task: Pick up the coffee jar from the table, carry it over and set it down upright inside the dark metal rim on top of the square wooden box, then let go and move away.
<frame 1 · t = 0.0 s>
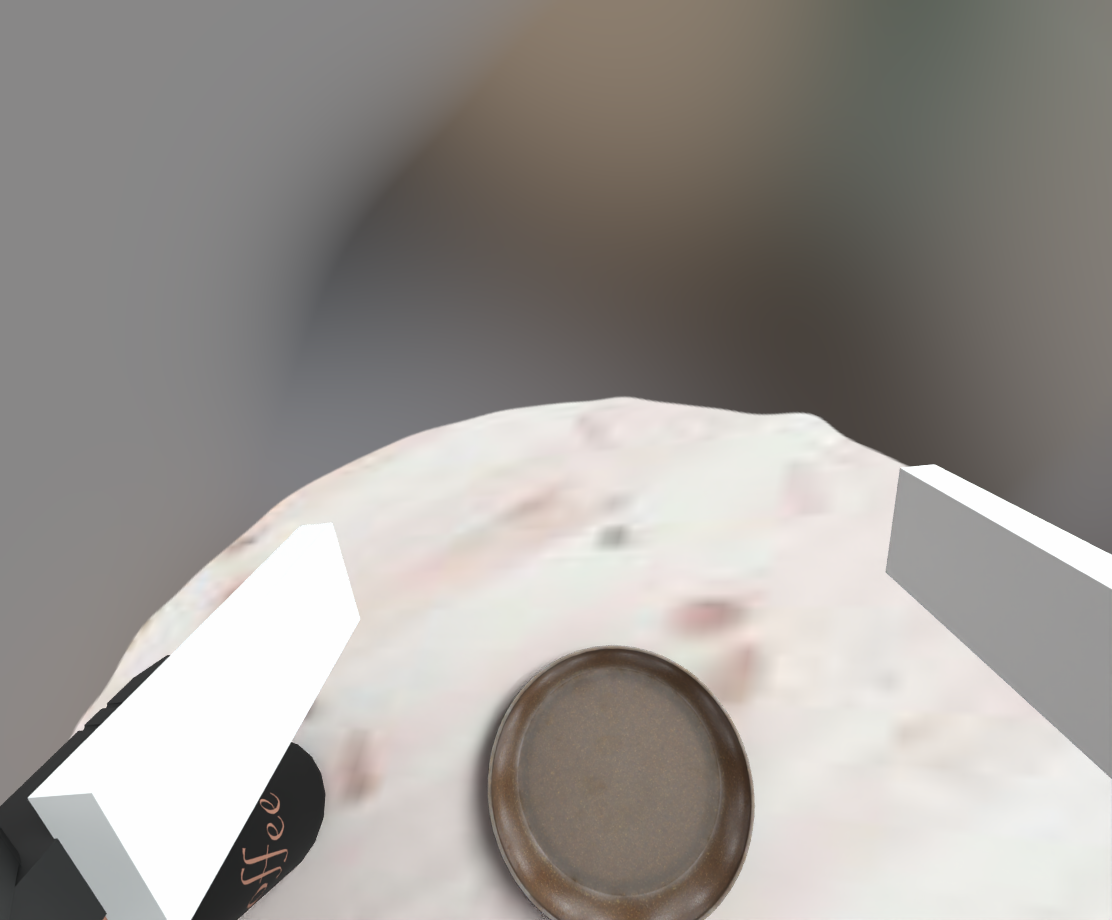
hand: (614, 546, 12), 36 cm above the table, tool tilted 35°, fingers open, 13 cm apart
coffee jar: (272, 801, 44), on the table
plant saucer: (615, 772, 43), on the table
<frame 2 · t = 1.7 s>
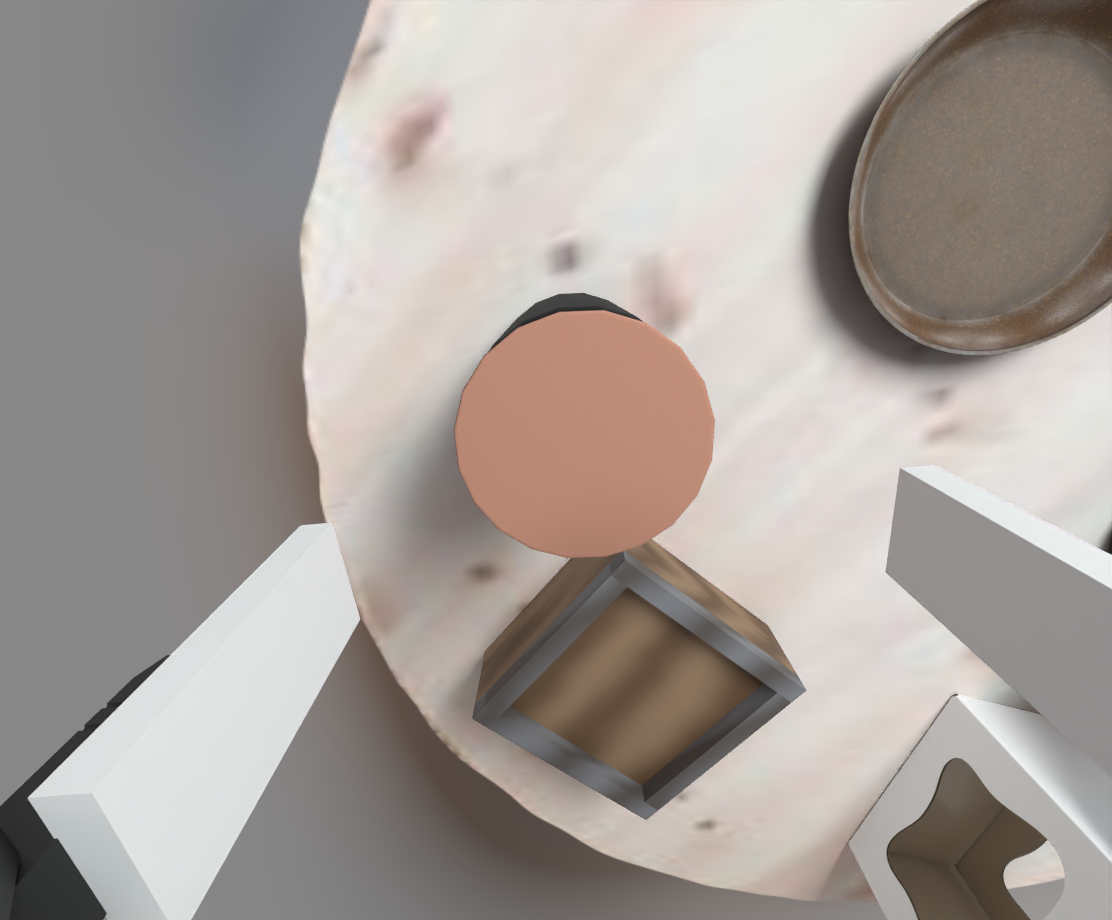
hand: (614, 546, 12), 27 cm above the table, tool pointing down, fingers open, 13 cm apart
coffee jar: (572, 367, 38), on the table
plant saucer: (983, 190, 34), on the table
gable box: (952, 783, 52), on the table, touching arm
square wooden box: (624, 638, 46), on the table
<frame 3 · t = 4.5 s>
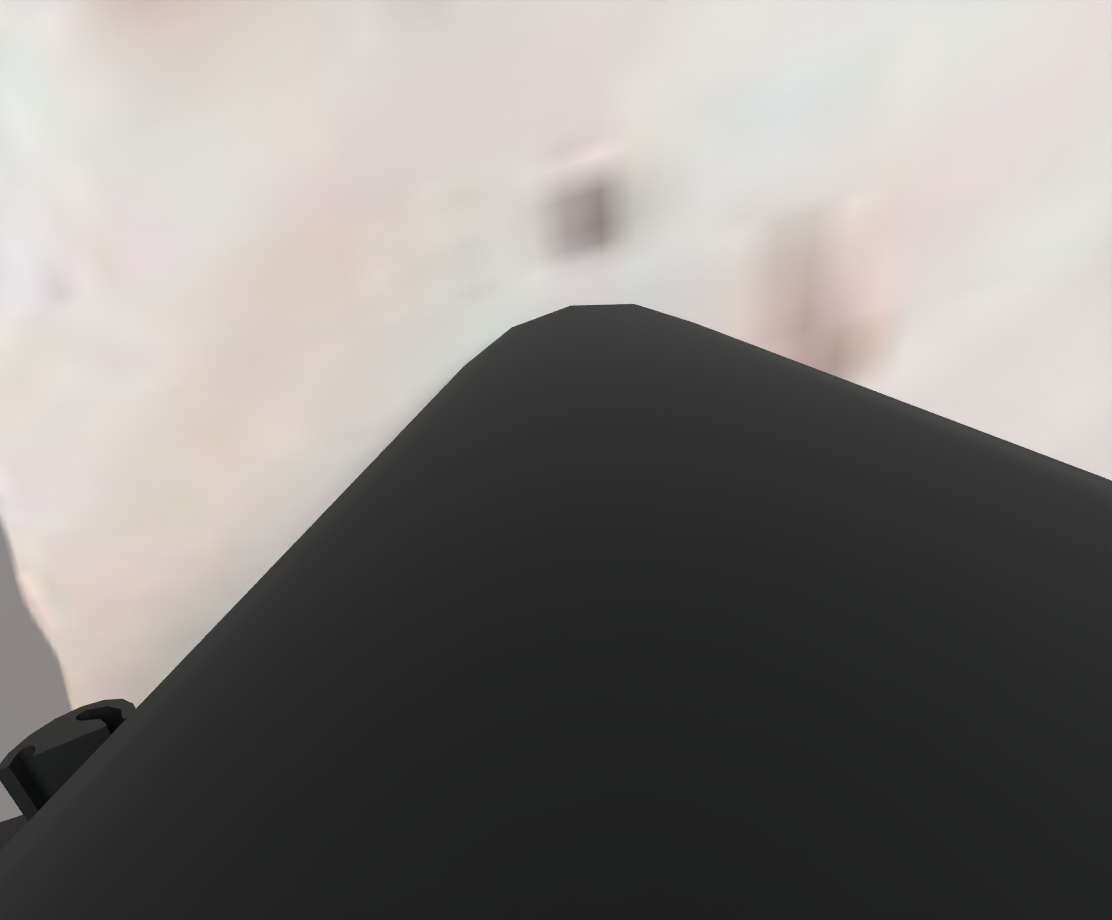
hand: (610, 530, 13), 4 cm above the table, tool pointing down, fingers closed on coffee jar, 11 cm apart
coffee jar: (597, 470, 17), on the table, touching gripper
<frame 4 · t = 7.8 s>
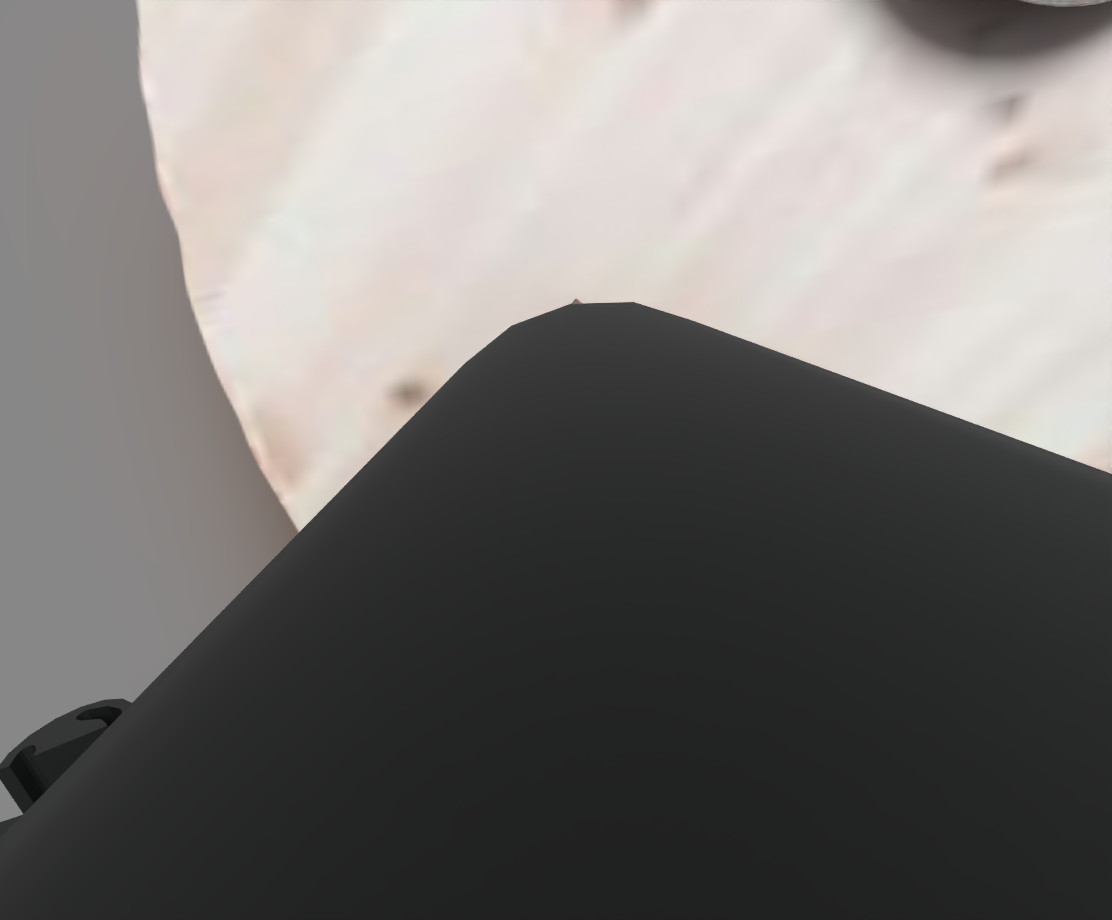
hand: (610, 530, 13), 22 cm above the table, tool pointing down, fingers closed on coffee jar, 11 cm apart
coffee jar: (597, 468, 17), point 18 cm above the table, touching gripper
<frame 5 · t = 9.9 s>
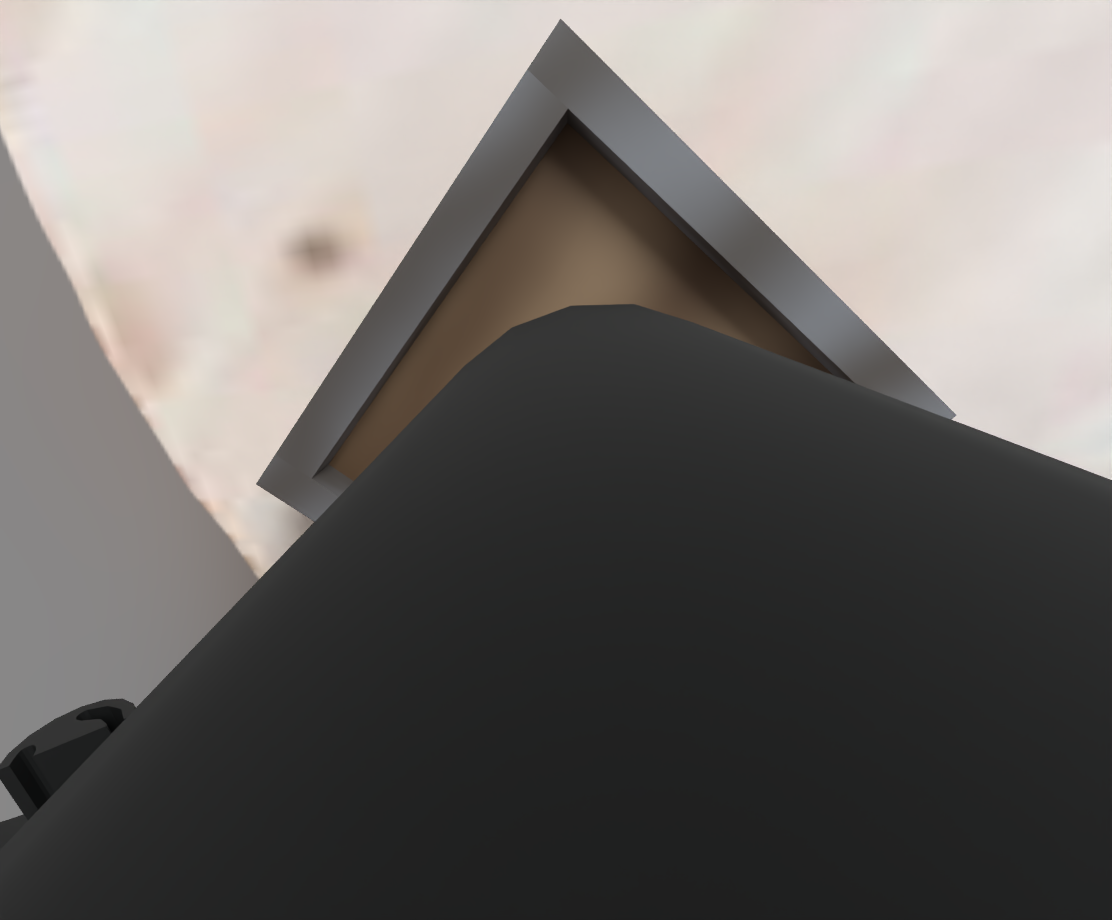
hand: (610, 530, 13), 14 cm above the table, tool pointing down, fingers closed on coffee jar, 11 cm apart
coffee jar: (597, 470, 17), point 9 cm above the table, touching gripper
square wooden box: (585, 401, 26), on the table
when the fingers open (11 cm above the table, at t = 11.4 s): coffee jar drops 1 cm, resting on square wooden box.
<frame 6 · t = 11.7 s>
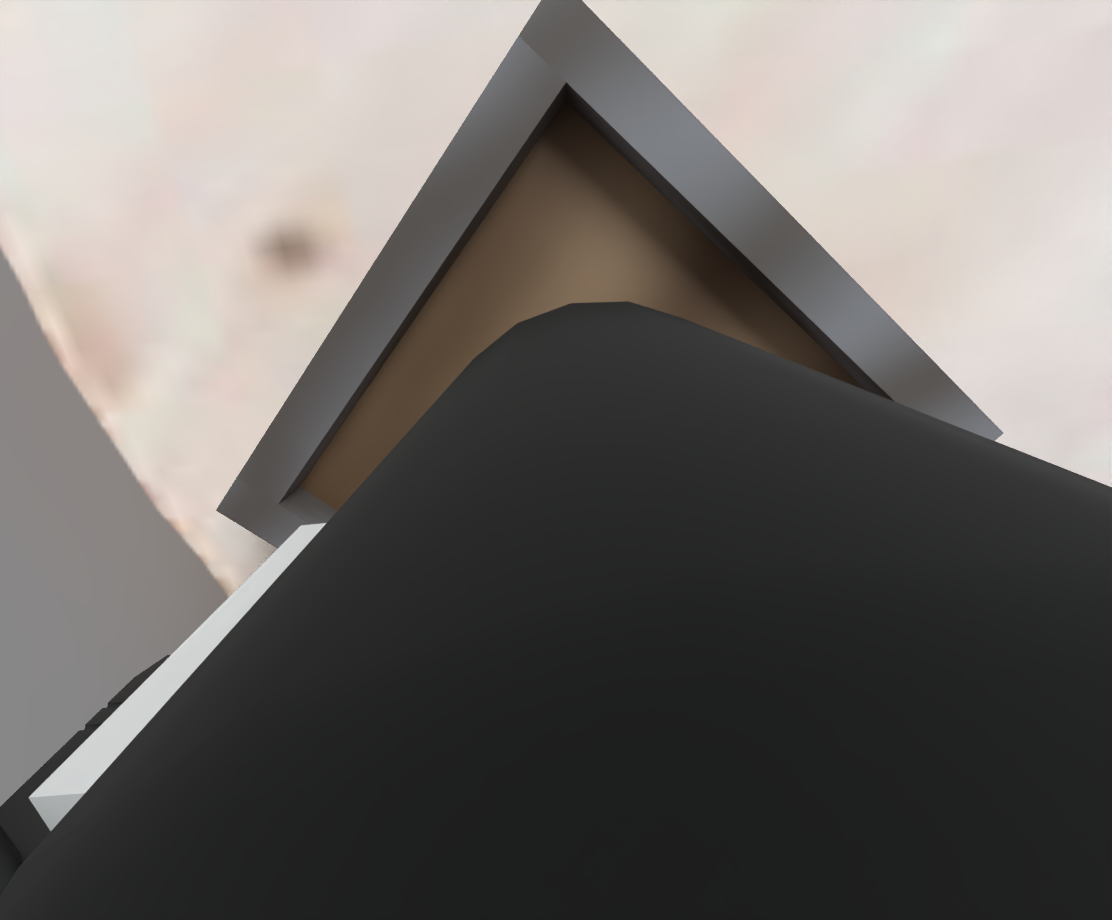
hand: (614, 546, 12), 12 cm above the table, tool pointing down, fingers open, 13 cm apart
coffee jar: (596, 455, 18), point 6 cm above the table, touching square wooden box
square wooden box: (585, 412, 23), on the table
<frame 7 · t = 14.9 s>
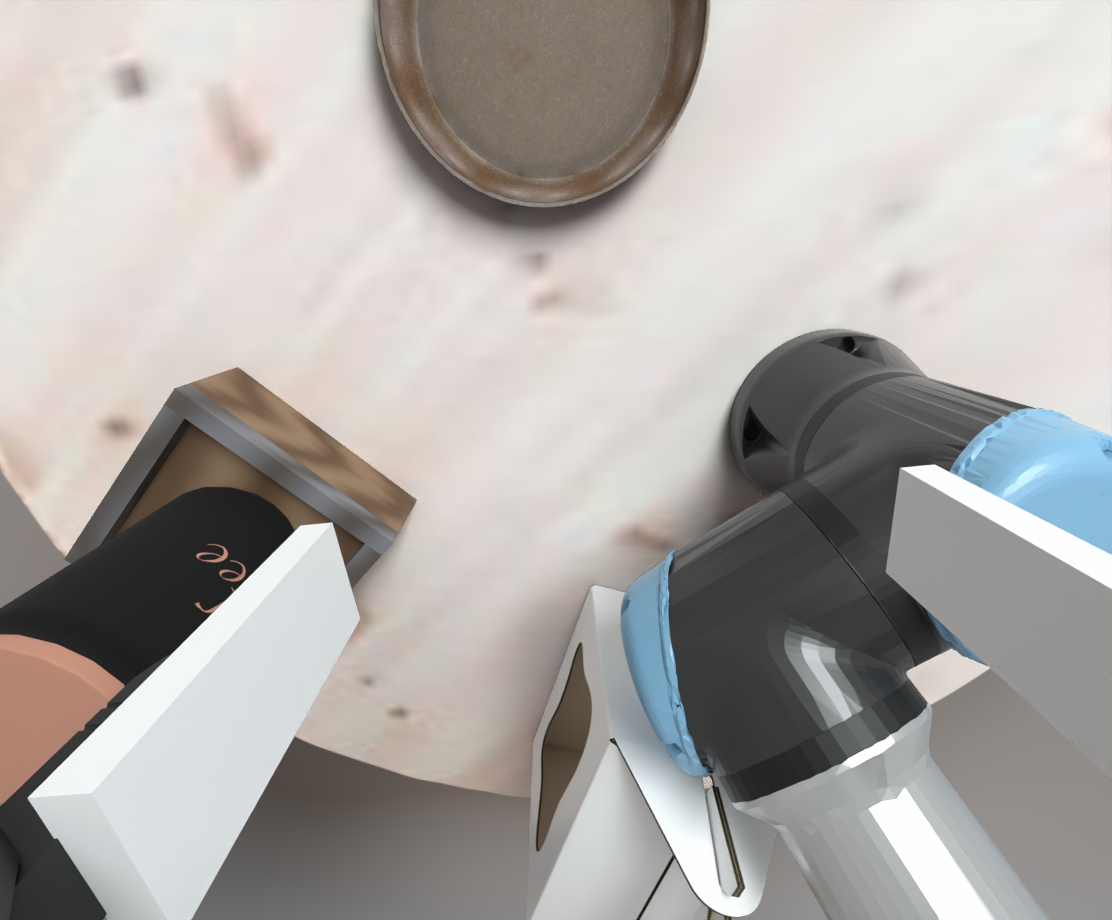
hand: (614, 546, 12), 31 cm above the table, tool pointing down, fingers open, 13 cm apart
coffee jar: (241, 539, 41), point 6 cm above the table, touching square wooden box
plant saucer: (542, 42, 34), on the table
gable box: (619, 679, 54), on the table
square wooden box: (276, 507, 46), on the table
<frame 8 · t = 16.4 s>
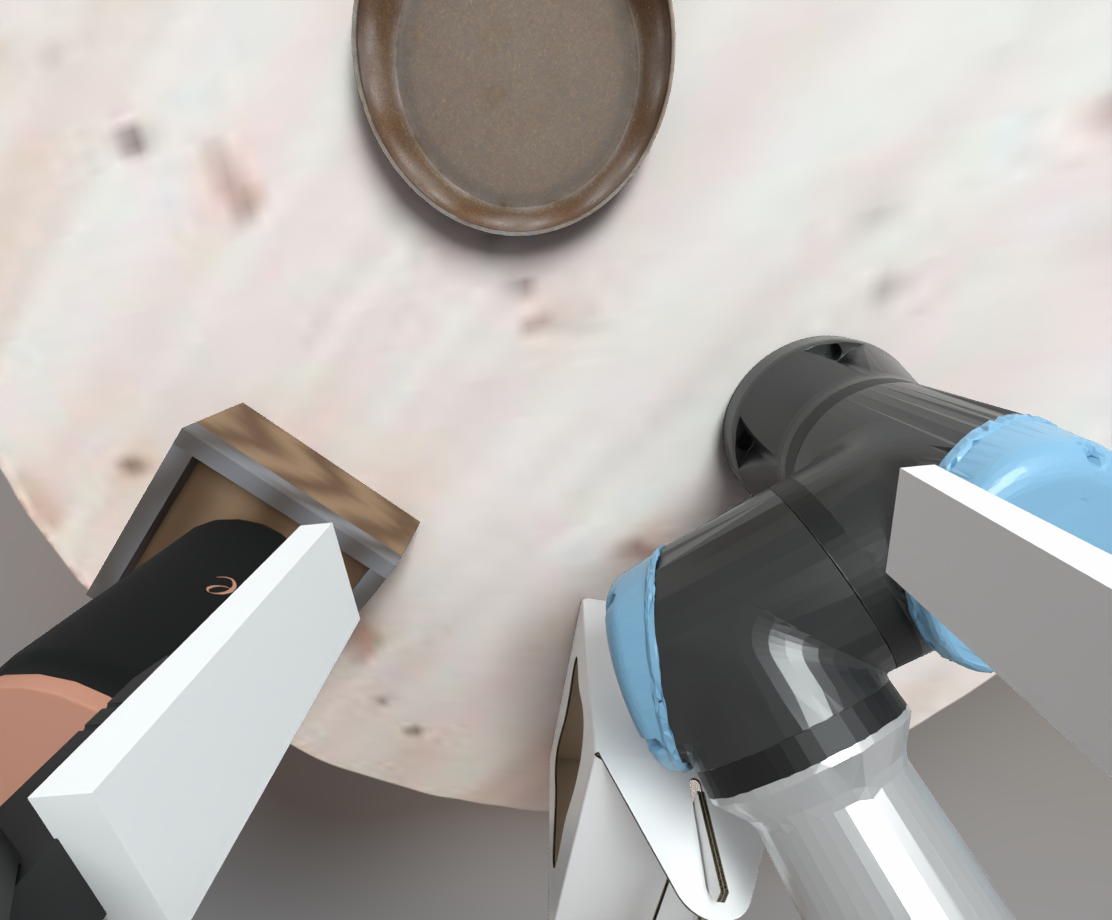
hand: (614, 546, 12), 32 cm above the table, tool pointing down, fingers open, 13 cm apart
coffee jar: (251, 568, 42), point 6 cm above the table, touching square wooden box
plant saucer: (516, 78, 36), on the table
gable box: (625, 687, 54), on the table
square wooden box: (286, 534, 48), on the table
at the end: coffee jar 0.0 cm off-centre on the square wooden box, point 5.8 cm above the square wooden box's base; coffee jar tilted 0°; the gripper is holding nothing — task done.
